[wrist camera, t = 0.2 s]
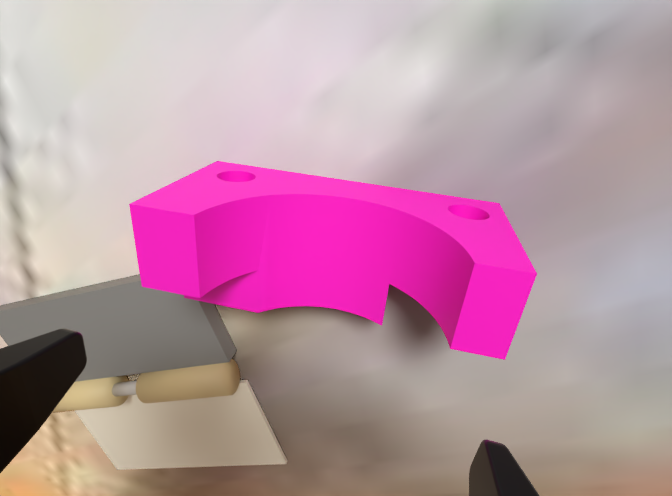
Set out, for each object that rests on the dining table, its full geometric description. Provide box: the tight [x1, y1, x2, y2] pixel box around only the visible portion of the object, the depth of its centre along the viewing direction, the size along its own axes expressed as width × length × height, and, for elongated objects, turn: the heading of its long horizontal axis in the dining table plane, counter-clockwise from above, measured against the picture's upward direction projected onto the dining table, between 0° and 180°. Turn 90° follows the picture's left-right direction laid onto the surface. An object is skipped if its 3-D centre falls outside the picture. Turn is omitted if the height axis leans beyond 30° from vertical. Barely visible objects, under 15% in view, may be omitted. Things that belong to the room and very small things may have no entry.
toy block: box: [129, 161, 537, 360], centre depth 19 cm, size 15×6×8 cm, turn 84°
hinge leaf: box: [0, 274, 240, 413], centre depth 28 cm, size 9×18×2 cm, turn 107°
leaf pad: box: [75, 380, 287, 470], centre depth 32 cm, size 8×17×1 cm, turn 108°
